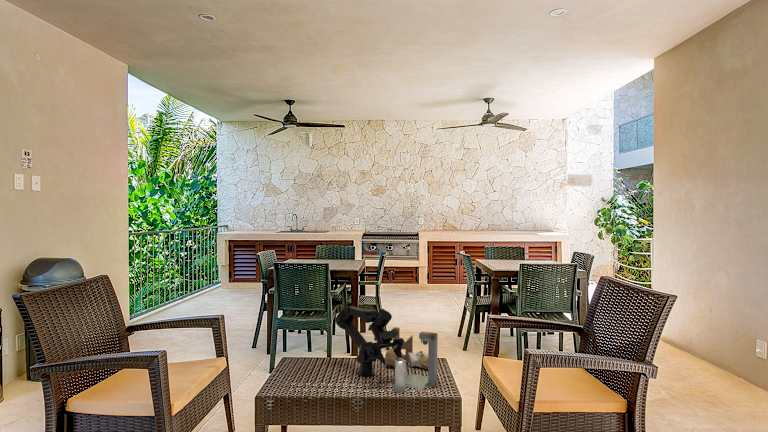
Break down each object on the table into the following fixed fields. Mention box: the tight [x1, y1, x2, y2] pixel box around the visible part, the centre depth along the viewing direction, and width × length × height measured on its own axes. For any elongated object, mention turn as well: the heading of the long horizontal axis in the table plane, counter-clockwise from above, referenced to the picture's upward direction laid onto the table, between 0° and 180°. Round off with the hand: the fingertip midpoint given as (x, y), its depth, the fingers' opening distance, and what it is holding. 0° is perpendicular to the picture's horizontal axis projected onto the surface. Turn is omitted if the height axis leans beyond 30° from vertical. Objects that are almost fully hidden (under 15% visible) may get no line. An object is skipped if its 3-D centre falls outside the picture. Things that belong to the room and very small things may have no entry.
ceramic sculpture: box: [408, 350, 439, 370], centre depth 233 cm, size 11×9×15 cm
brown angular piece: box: [392, 326, 414, 364], centre depth 243 cm, size 4×11×18 cm, turn 82°
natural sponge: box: [384, 347, 404, 368], centre depth 234 cm, size 9×9×10 cm
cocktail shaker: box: [394, 357, 407, 393], centre depth 201 cm, size 5×5×14 cm
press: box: [405, 331, 438, 390], centre depth 208 cm, size 16×19×23 cm
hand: (393, 362), depth 204 cm, fingers open, 9 cm apart
